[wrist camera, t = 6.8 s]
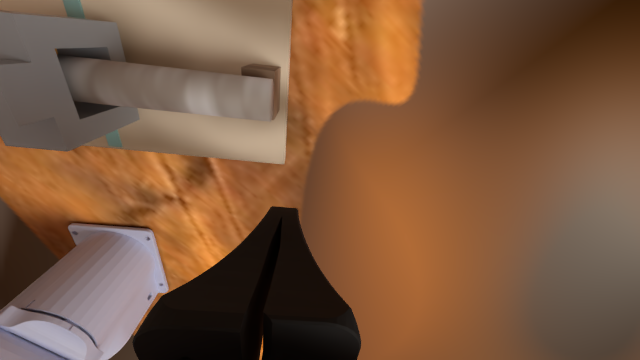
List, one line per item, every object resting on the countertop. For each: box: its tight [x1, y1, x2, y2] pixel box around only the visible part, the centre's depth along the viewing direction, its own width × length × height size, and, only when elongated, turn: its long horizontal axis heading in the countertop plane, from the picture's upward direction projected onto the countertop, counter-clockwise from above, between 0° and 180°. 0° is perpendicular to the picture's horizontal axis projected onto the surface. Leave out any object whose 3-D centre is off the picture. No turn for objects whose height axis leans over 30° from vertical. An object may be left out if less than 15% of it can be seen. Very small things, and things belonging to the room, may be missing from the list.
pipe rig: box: [0, 0, 292, 164], centre depth 16 cm, size 12×19×6 cm, turn 84°
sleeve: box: [0, 10, 140, 151], centre depth 13 cm, size 6×3×8 cm, turn 174°
